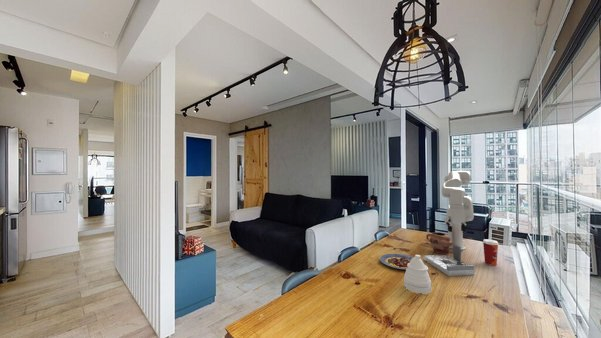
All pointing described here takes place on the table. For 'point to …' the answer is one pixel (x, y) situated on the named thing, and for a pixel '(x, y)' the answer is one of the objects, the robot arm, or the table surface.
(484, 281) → the table surface
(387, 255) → the ceramic plate
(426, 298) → the table surface
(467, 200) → the robot arm
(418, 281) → the honey pot
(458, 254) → the gray cylinder
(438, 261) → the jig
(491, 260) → the coffee cup
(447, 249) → the decorative planter
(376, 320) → the table surface
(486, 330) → the table surface
